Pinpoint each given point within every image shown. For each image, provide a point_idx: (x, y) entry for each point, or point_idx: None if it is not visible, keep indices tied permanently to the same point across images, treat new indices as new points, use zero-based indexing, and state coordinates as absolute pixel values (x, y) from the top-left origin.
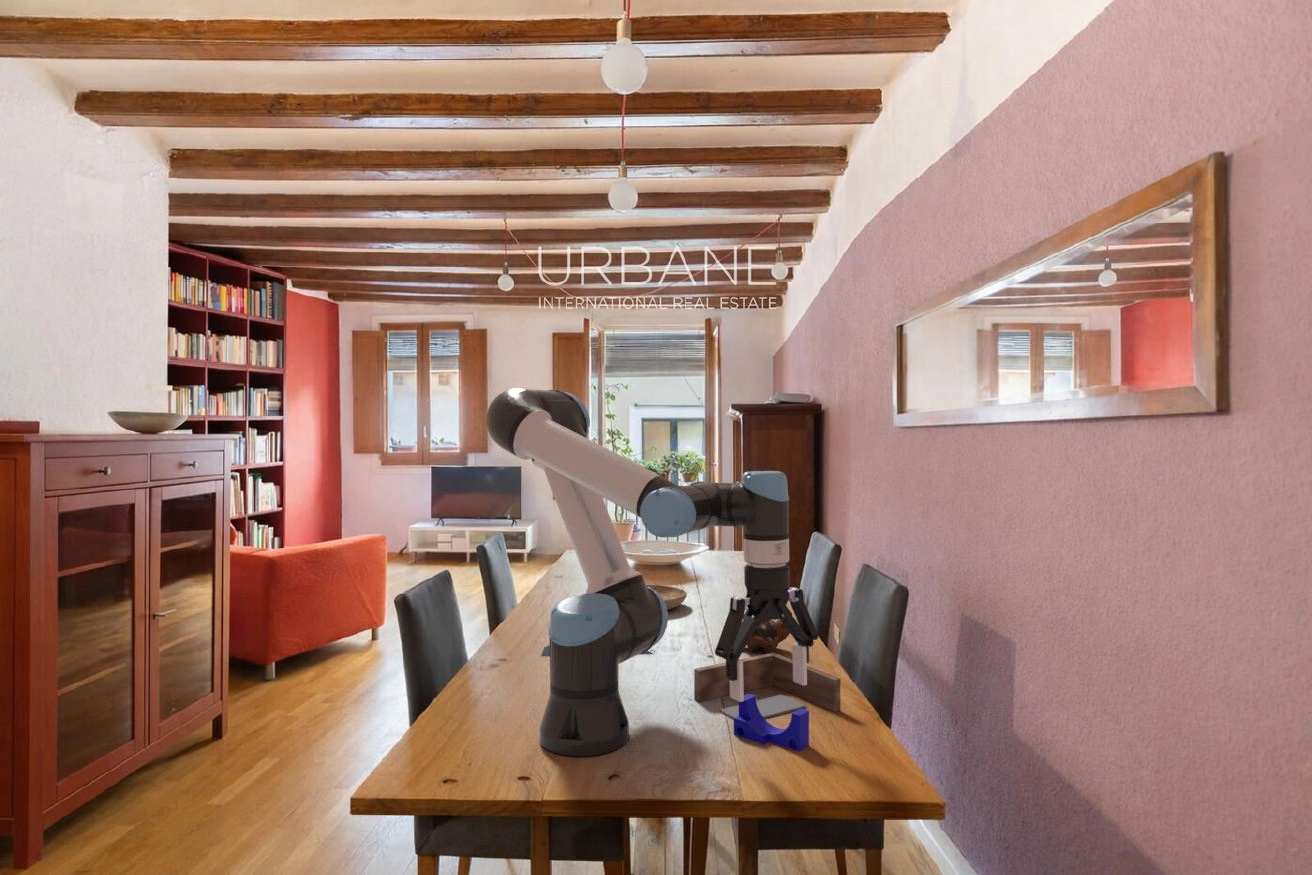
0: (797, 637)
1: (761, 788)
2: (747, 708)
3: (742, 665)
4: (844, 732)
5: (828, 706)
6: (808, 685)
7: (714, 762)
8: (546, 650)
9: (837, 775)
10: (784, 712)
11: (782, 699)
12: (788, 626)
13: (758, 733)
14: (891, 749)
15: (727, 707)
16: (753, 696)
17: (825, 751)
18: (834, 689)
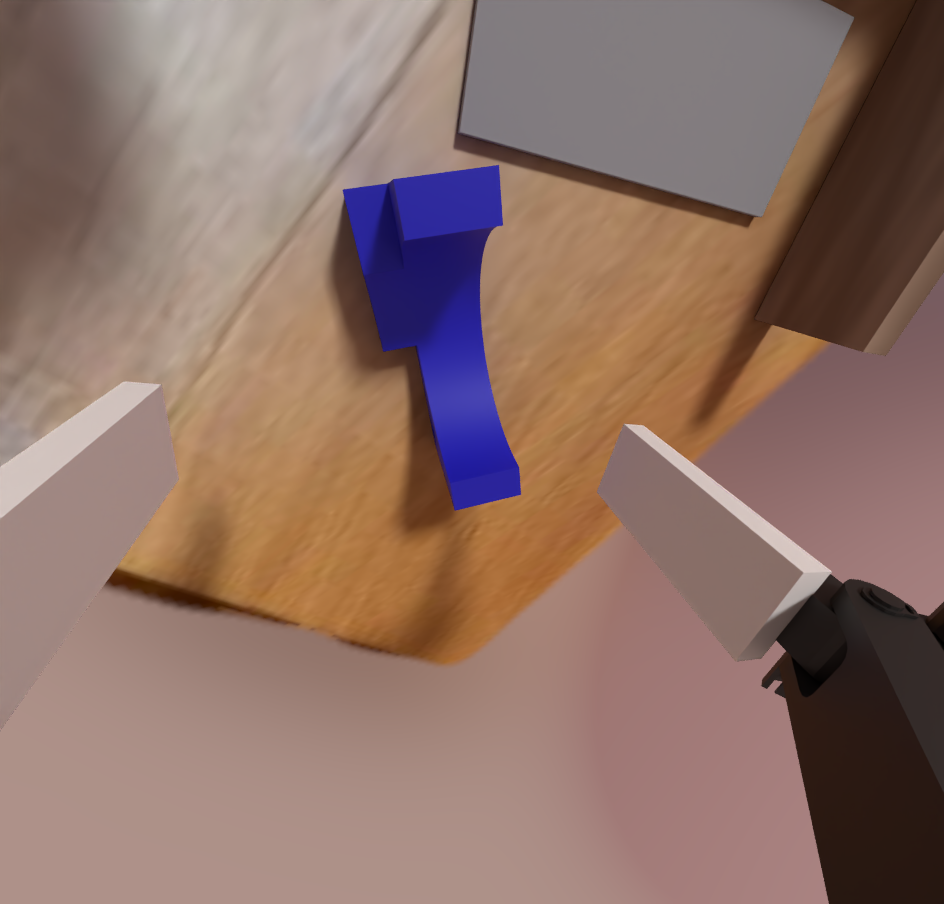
0: (824, 694)
1: (173, 534)
2: (407, 243)
3: (19, 690)
4: None
5: (777, 292)
6: (894, 168)
7: (105, 338)
8: None
9: (401, 566)
10: (669, 191)
11: (792, 78)
12: (891, 880)
13: (381, 326)
14: (599, 540)
15: None
16: (484, 225)
17: None
18: (825, 339)
